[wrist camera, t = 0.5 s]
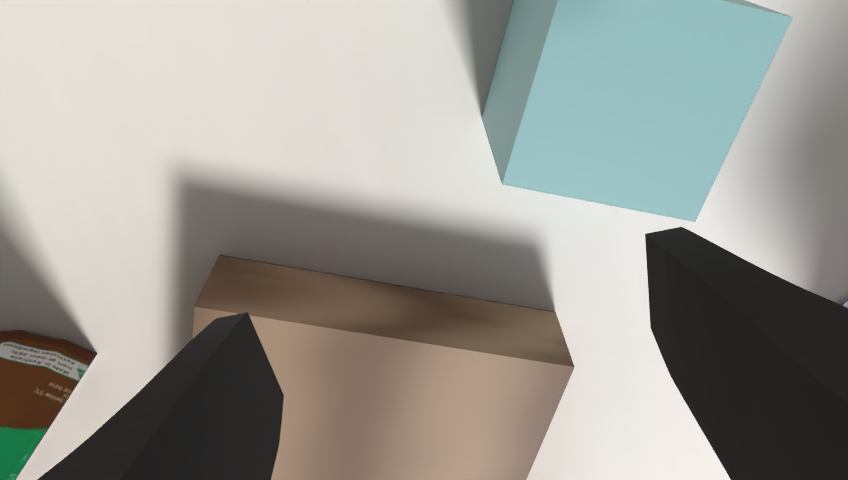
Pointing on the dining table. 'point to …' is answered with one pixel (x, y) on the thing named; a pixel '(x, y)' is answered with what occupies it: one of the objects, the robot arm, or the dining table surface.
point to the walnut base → (395, 374)
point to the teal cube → (626, 97)
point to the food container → (33, 391)
